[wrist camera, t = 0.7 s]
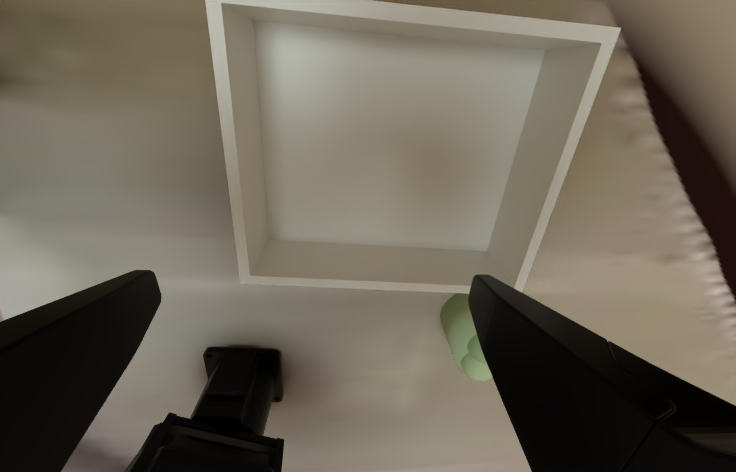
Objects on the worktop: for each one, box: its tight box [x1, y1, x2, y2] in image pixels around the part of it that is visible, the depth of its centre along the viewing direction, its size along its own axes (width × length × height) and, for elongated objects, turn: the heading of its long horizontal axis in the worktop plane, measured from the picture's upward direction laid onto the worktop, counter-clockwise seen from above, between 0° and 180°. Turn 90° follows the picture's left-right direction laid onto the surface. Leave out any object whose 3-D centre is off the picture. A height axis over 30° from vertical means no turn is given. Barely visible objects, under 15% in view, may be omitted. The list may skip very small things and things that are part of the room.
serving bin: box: [205, 0, 621, 294], centre depth 18 cm, size 14×17×5 cm
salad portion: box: [440, 293, 492, 382], centre depth 24 cm, size 5×5×6 cm
